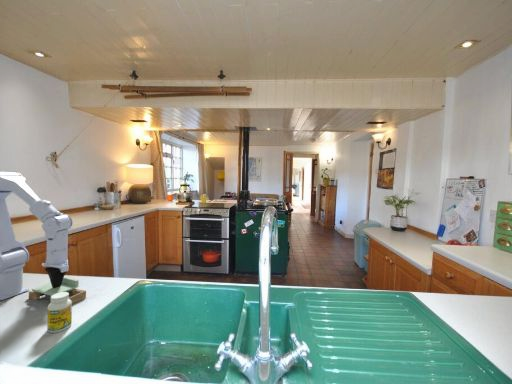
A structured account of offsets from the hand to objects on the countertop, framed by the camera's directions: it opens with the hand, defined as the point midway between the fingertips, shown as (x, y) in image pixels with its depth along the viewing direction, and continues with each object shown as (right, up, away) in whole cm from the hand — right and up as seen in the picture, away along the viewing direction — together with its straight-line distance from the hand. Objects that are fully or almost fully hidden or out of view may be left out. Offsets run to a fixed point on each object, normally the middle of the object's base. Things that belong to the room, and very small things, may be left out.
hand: (56, 286), depth 83 cm
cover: (-1, -1, 0) cm, 1 cm away
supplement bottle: (+15, -5, -16) cm, 22 cm away
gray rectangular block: (+1, -4, 0) cm, 4 cm away
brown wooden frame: (+1, -4, 0) cm, 4 cm away
